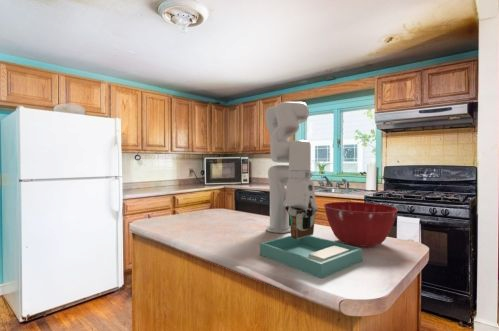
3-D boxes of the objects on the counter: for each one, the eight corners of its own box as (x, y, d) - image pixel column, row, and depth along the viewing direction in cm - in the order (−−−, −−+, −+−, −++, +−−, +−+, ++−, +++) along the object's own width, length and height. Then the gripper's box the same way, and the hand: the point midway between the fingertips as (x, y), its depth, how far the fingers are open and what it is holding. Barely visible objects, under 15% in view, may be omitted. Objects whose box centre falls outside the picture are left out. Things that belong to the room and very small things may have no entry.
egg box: (334, 256, 97) (334, 245, 97) (350, 261, 93) (350, 249, 93) (307, 266, 88) (307, 253, 88) (324, 272, 84) (324, 259, 84)
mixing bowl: (342, 231, 137) (342, 199, 137) (407, 243, 117) (407, 205, 117) (310, 243, 117) (310, 205, 116) (383, 260, 97) (383, 215, 97)
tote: (301, 245, 114) (301, 232, 114) (362, 263, 94) (362, 248, 94) (259, 257, 100) (260, 243, 100) (321, 281, 80) (321, 264, 80)
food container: (301, 230, 107) (303, 203, 106) (315, 234, 102) (316, 206, 102) (280, 235, 98) (281, 207, 98) (294, 240, 94) (295, 210, 93)
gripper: (326, 176, 95) (326, 230, 96) (288, 174, 109) (288, 221, 109) (312, 177, 91) (312, 233, 91) (274, 175, 104) (274, 224, 104)
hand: (299, 226), depth 100 cm, fingers closed on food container, 5 cm apart
